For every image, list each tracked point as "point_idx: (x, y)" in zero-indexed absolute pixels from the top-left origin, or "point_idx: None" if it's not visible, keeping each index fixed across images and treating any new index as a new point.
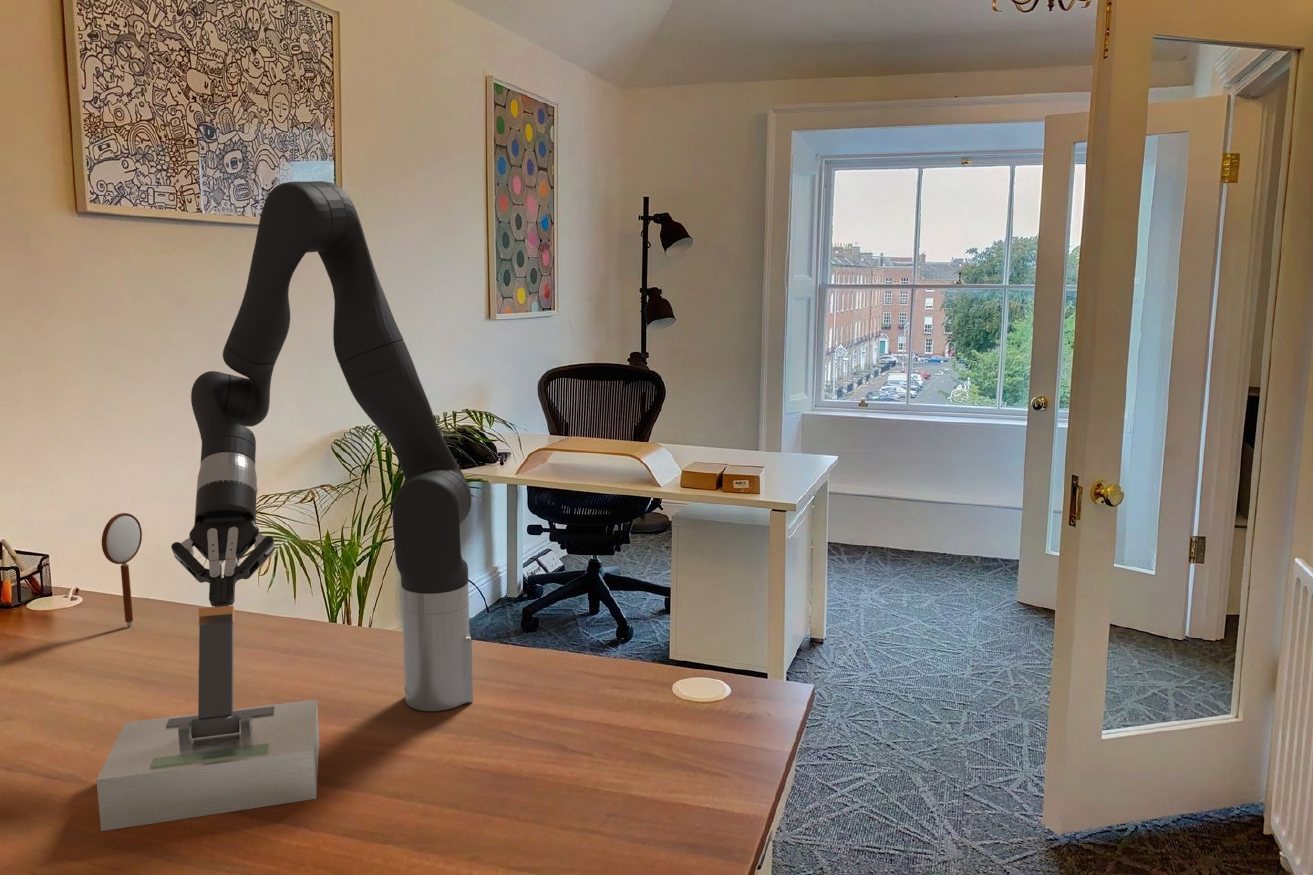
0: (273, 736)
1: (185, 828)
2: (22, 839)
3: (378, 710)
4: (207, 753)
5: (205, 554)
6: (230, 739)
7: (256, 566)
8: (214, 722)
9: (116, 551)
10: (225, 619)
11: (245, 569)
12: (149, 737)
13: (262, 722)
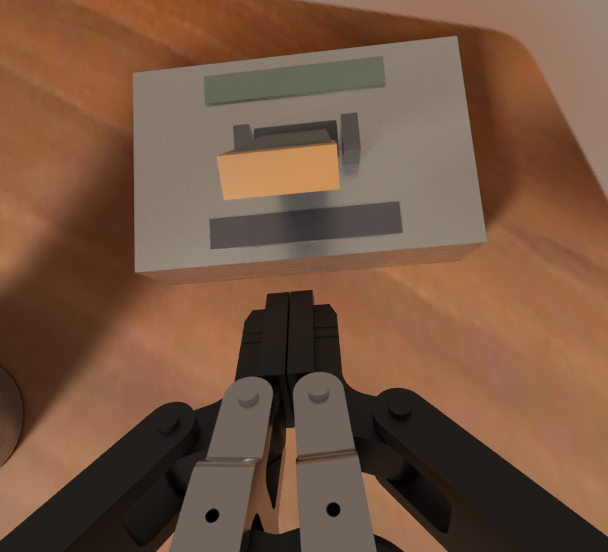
0: (201, 132)
1: None
2: (535, 88)
3: (73, 391)
4: (299, 85)
5: (396, 546)
6: None
7: (128, 512)
8: (295, 125)
9: None
10: (249, 149)
11: (165, 406)
12: (417, 168)
13: None
